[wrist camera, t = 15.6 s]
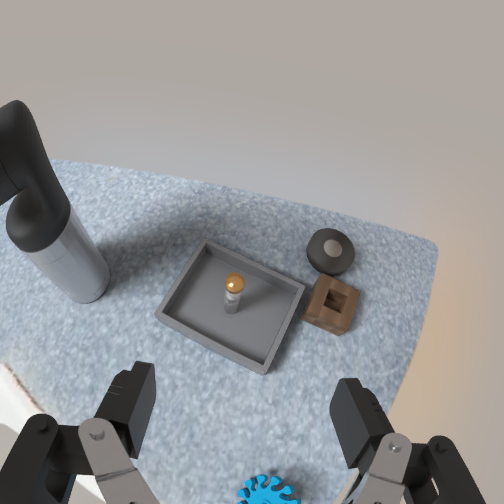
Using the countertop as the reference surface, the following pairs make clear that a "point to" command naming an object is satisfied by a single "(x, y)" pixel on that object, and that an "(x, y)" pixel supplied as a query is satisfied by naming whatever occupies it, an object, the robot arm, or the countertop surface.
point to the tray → (249, 310)
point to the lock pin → (233, 292)
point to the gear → (267, 492)
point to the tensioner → (330, 282)
